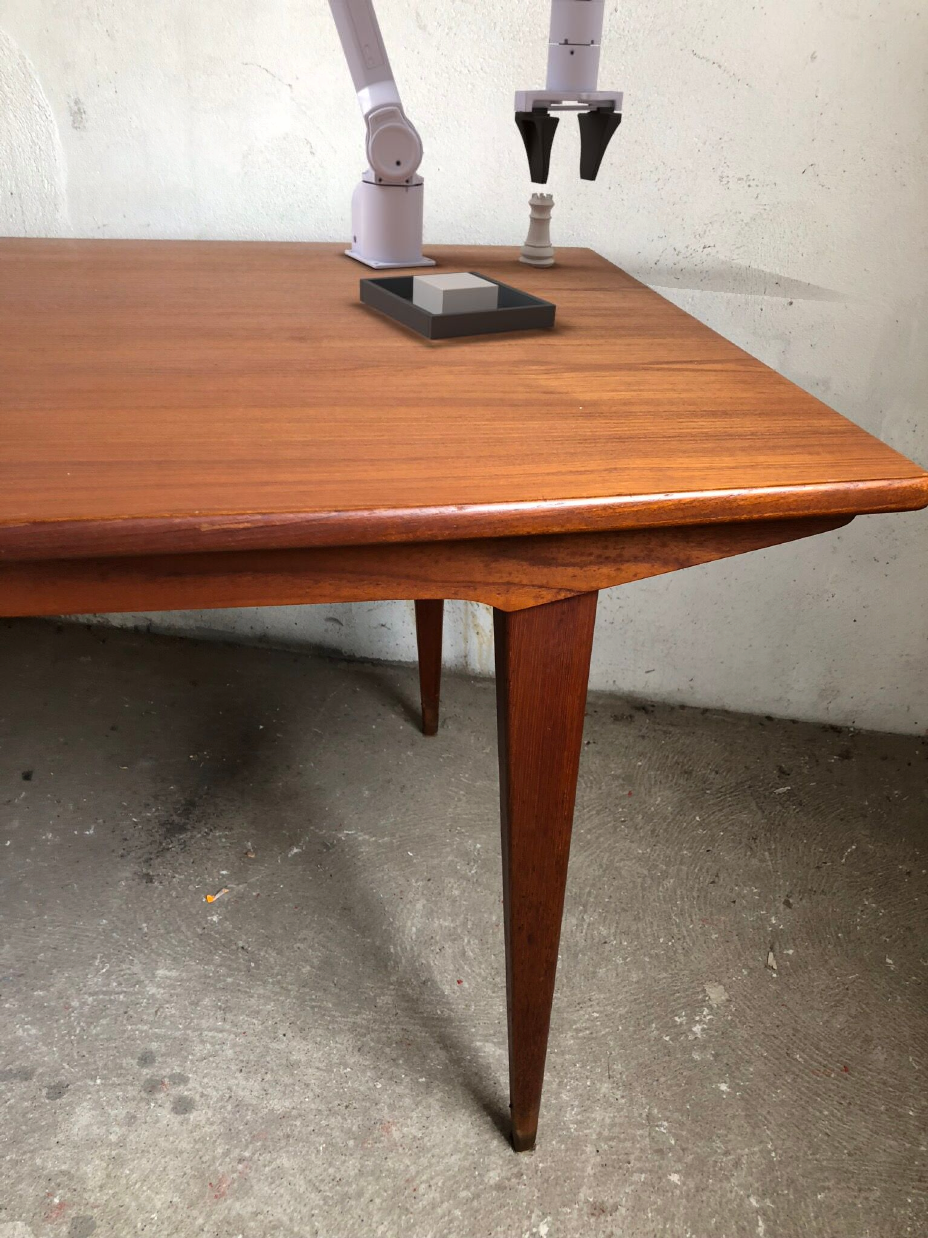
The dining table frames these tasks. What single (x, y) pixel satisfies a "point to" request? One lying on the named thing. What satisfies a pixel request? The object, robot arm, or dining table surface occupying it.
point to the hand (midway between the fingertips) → (563, 181)
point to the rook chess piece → (538, 233)
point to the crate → (509, 316)
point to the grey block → (454, 293)
